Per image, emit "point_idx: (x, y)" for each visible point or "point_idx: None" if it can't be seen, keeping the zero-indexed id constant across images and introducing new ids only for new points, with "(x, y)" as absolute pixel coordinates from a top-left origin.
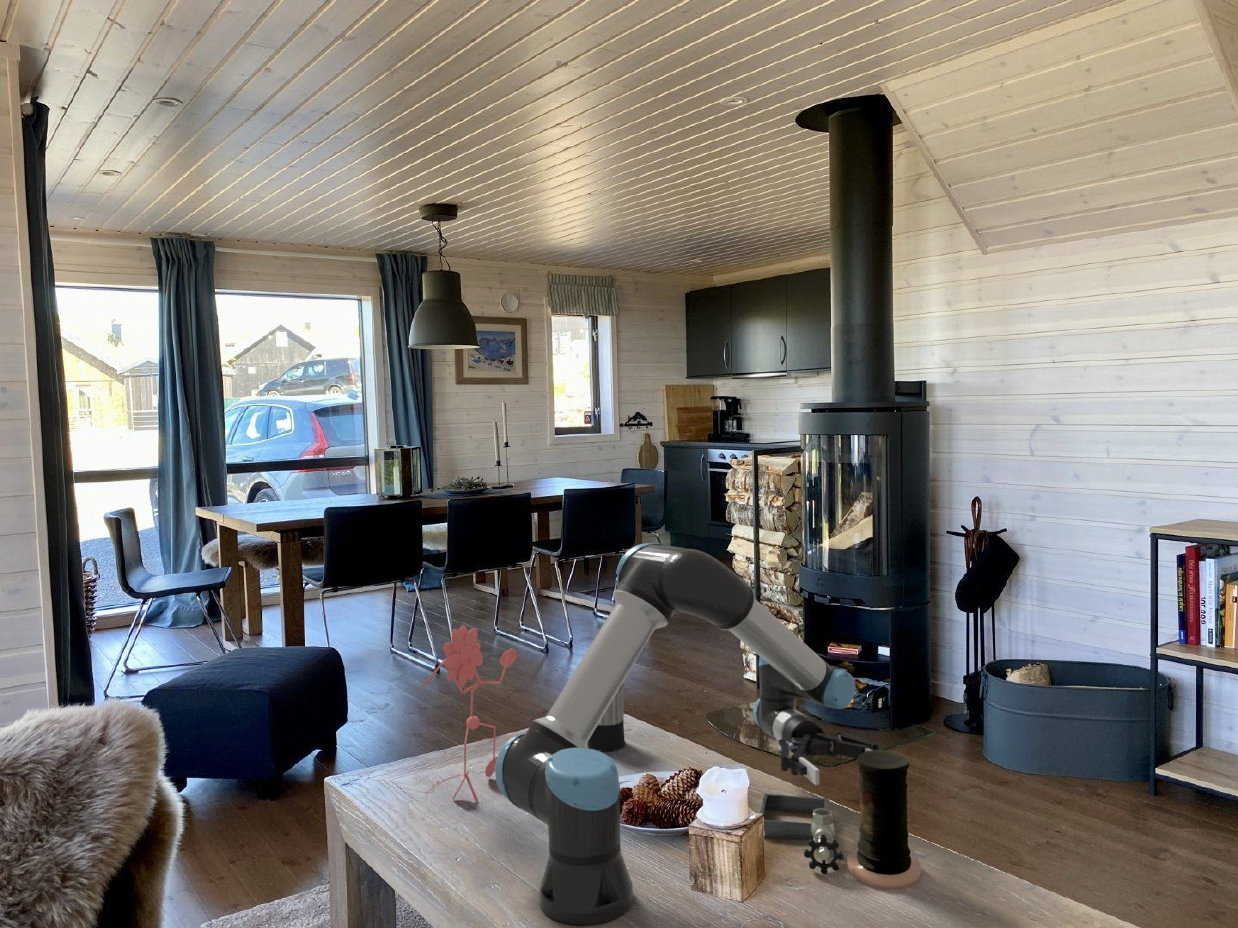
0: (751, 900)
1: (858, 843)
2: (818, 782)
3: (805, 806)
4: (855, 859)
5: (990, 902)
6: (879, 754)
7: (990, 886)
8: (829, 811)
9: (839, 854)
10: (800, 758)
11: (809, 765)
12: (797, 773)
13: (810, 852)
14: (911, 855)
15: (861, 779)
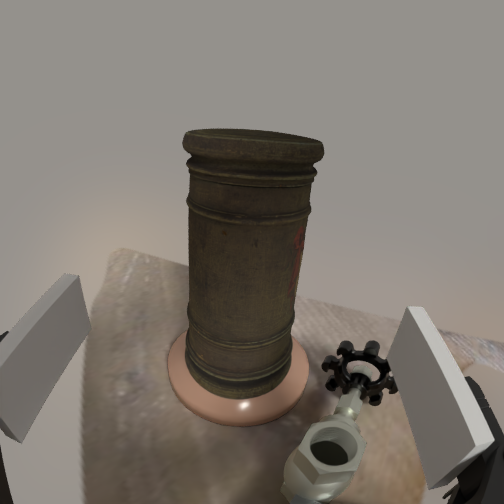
0: (465, 361)
1: (280, 364)
2: (392, 350)
3: None
4: (285, 384)
5: (165, 279)
6: (242, 135)
7: (130, 294)
8: (308, 445)
9: (334, 357)
10: (486, 425)
11: (445, 346)
12: (448, 491)
13: (389, 376)
14: (170, 356)
15: (309, 194)
